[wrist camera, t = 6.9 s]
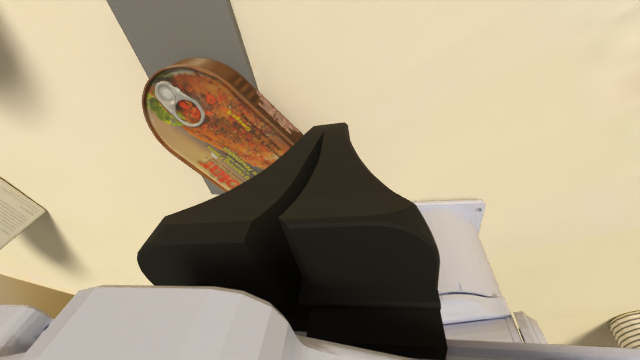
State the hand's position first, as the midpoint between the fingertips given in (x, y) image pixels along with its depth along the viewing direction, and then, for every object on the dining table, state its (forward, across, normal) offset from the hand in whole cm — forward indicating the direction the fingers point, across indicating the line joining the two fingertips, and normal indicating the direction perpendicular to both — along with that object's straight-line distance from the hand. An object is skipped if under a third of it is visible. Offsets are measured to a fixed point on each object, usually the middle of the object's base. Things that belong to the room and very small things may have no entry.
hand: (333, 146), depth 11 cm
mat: (+10, +11, +2) cm, 15 cm away
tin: (+9, +5, +2) cm, 10 cm away
